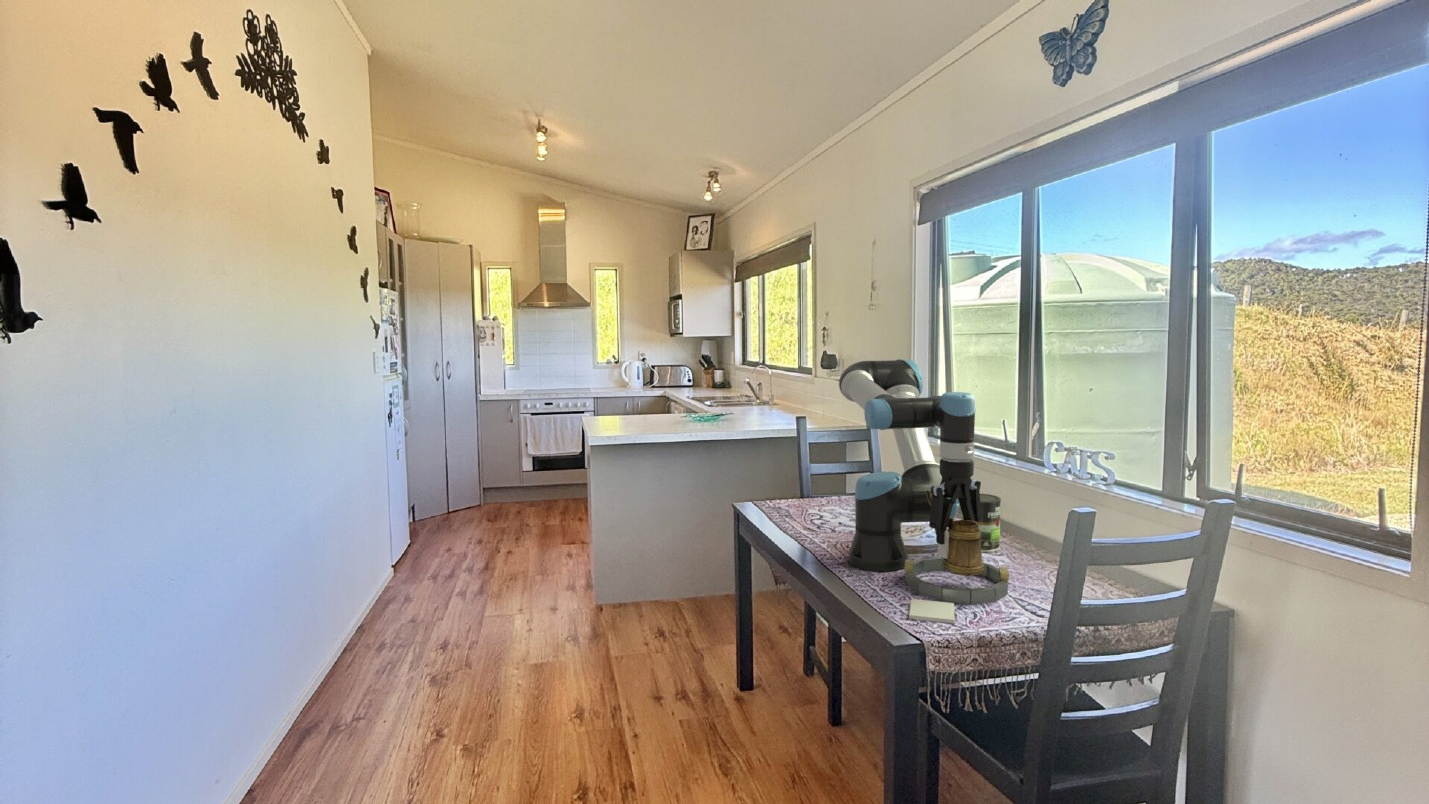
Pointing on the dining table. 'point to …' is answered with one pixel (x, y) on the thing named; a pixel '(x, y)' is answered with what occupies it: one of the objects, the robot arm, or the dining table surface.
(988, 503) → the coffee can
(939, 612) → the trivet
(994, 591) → the collar
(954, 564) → the wooden mug
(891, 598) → the dining table surface
